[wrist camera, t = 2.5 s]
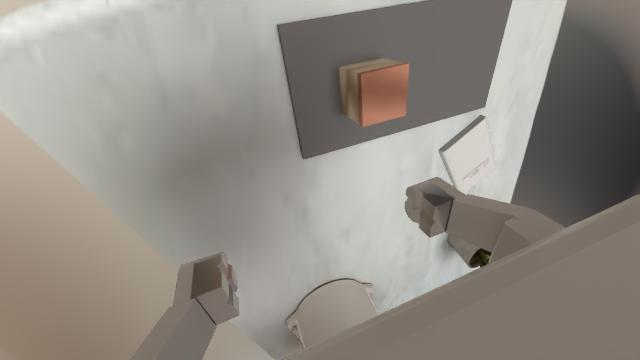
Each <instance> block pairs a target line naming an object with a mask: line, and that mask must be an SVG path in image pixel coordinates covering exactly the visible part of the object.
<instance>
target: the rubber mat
mask: <svg viewBox="0 0 640 360" xmlns="http://www.w3.org/2000/svg"><path fill="white" fill-rule="evenodd" d="M511 4H512V0H429V1H423V2H417V3H411V4H404V5H398V6H392V7H386V8H380V9H373V10H367V11H361V12H355V13H349V14H342V15H336V16H330V17H324V18H318V19H311V20H305V21H299V22H293V23H287V24H280V25H277V26H278V31H279V37H280V42H281V47H282V52H283V57H284V63H285V68H286V73H287V78H288V83H289V89H290V94H291V99H292V104H293V110H294V115H295V120H296V125H297V130H298V136H299V141H300V146H301V151H302V156H303V159H307V158H311V157H314V156H317V155H321V154H324V153H328V152H331V151H335V150H338V149H342V148H345V147H349V146H352V145H356V144H359V143H362V142H366V141H369V140H373V139H376V138H380V137H383V136H387V135H390V134H394V133H397V132H401V131H404V130H408V129H411V128H414V127H418V126H421V125H425V124H428V123H432V122H435V121H439V120H442V119H446V118H449V117H453V116H456V115H460V114H463V113H466V112H470V111H473V110H477V109H480V108H484V107H485V104H486V101H487V97H488V93H489V89H490V85H491V81H492V77H493V73H494V70H495V66H496V62H497V58H498V54H499V50H500V46H501V42H502V39H503V35H504V31H505V27H506V23H507V19H508V15H509V11H510V8H511ZM379 58H382V59H388V60H393V61H398V62H404V63H409V76H408V89H407V103H406V115H405V116H402V117H398V118H394V119H391V120H387V121H383V122H380V123H376V124H372V125H369V126H365V127H362V126H360V125H359V124H357V123H356V122H355V121H353V120H352V119H350V118H349V117H347V116H346V115H344V114H343V113H342V102H341V89H340V76H339V67H341V66H346V65H351V64H356V63H360V62H365V61H370V60H375V59H379Z"/></svg>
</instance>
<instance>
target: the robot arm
mask: <svg viewBox="0 0 640 360" xmlns="http://www.w3.org/2000/svg"><path fill="white" fill-rule="evenodd" d="M406 196H407V197H408V198H407V200H406V201H405V211H406V214H407V215H408V217H409V218H410V219H411V220H412V221H413V222H416V223H419V228H420V229H421V230H422V231H423V232H424V233H425V234H426V235H427V236H428V237H429V238H430V237H433V236H435V235H438V234H441V233H443V232H446V233H448V234H450V235H453V236H455V237H457V238H459V239H462V240H464V241H466V242H468V243H471V244H473V245H475V246H478V247H480V248H482V249H484V250H487V251H489V252H491V253H492V254H491V257H490V259H489V264H488V265H485V266H483V267H481V268H479V269H477V270H475V271H472V272H470V273H468V274H466V275H464V276H462V277H459V278H457V279H455V280H453V281H451V282H449V283H446V284H444V285H442V286H440V287H438V288H436V289H433V290H431V291H429V292H427V293H425V294H423V295H420V296H418V297H416V298H414V299H412V300H410V301H407V302H405V303H403V304H401V305H399V306H397V307H395V308H392V309H390V310H388V311H386V312H384V313H382V314H379V312H378V310H377V308H376V306H375V305H374V303H373V301H372V296H373V293H374V288H373V285H372V284H361V283H359V282H357V281H354V280H338V281H334V282H331V283H328V284H326V285H324V286H322V287H320V288H318V289H317V290H315V291H314V292H312V293H311V294H310V295H308V296H307V297H306V298H305V299H304V300H303V301H302V303H301V304H300V306H299V307H298V309H297V311H296V312H295V313H294V314H293V315H292V316H290V317H289V318H288V319H287V321H286V325H287V327H288V329H289V330H290V331H291V332H292V333H293V334H294V335H295V336H296V337H297V338H298V339H299V340H300V341H301V342H302V345H303V348H304V350H302V351H299V352H297V353H295V354H293V355H291V356H289V357H287V358H284V359H282V360H640V195H637V196H634V197H632V198H630V199H628V200H626V201H624V202H621V203H620V204H617V205H615V206H613V207H611V208H608V209H606V210H604V211H602V212H600V213H598V214H596V215H593V216H591V217H589V218H587V219H585V220H583V221H581V222H578V223H576V224H574V225H572V226H570V227H568V228H565V227H563V226H561V225H560V224H558V223H556V222H554V221H552V220H550V219H549V218H547V217H546V216H544V215H542V214H540V213H539V212H537V211H535V210H534V209H530V208H526V207H522V206H517V205H513V204H509V203H505V202H500V201H496V200H492V199H487V198H483V197H479V196H474V195H470V194H468V195H465V194H463V193H462V192H460V191H459V190H457V189H456V188H454V187H453V186H451V185H450V184H448V183H447V182H445V181H444V180H442V179H441V178H438V177H435V178H432V179H429V180H427V181H424V182H421V183H419V184H416V185H413V186H410V187H408V188H407V189H406ZM237 289H238V288H237V280H236V275H235V272H234V270H233V268H232V266H231V265H229V264H228V261H227V256H226V255H225V253H224V252H221V253H218V254H215V255H212V256H208V257H205V258H202V259H199V260H196V261H194V262H191V263H188V264H185V265H181V267H180V269H179V273H178V279H177V285H176V291H175V297H174V304H173V306H172V307H170V308H168V309H167V311H166V312H165V313H164V315H163V316H162V317H161V319H160V320H159V321H158V323H157V324H156V325H155V327H154V328H153V330H152V331H151V332H150V334H149V335H148V336H147V338H146V339H145V340H144V342H143V343H142V345H141V346H140V347H139V348H138V350H137V351H136V353H135V354H134V355H133V356H132V358H131V359H130V360H202V358H203V356H204V354H205V351H206V349H207V347H208V345H209V342H210V340H211V338H212V336H213V333H214V331H215V329H216V325H218V324H220V323H223V322H225V321H227V320H229V319H232V318H234V317H236V316H239V301H238V297H237V296H236V294H235V292H236V290H237Z"/></svg>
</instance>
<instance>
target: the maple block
mask: <svg viewBox="0 0 640 360" xmlns="http://www.w3.org/2000/svg"><path fill="white" fill-rule="evenodd" d="M339 76H340V89H341V102H342V113H343V114H344V115H346V116H347V117H349V118H350V119H352V120H353V121H355V122H356V123H357V124H359V125H360V126H362V127H365V126H369V125H372V124H376V123H380V122H383V121H387V120H391V119H394V118H398V117H402V116H405V115H406V103H407V89H408V76H409V63H404V62H398V61H393V60H388V59H382V58H379V59H375V60H370V61H365V62H360V63H356V64H351V65H346V66H341V67H339Z"/></svg>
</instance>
